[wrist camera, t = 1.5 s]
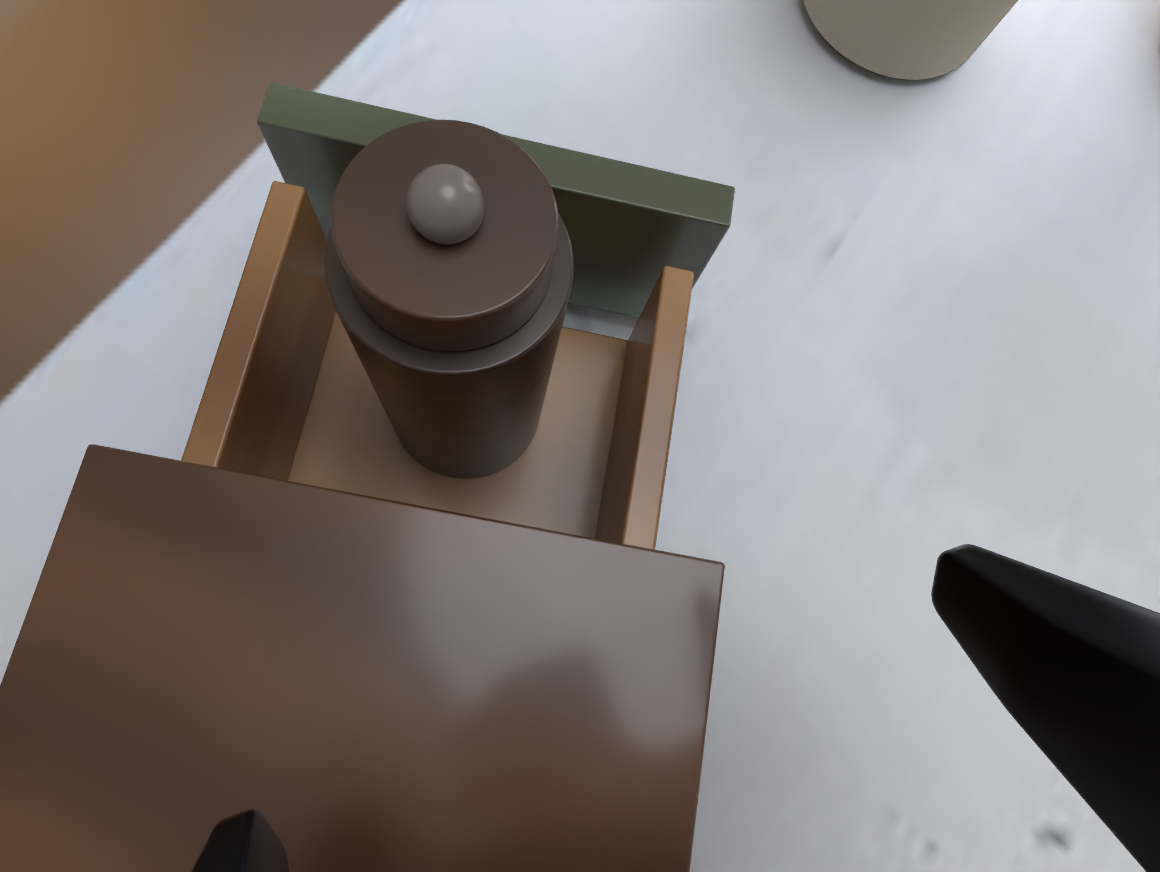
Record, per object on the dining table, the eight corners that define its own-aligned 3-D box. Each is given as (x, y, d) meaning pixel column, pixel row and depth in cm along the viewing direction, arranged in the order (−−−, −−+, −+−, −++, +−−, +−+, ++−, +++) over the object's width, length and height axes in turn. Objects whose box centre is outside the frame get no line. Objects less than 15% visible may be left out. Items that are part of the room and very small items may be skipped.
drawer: (334, 187, 24) (283, 41, 18) (680, 261, 25) (741, 146, 19) (220, 567, 21) (110, 543, 15) (624, 638, 22) (676, 644, 16)
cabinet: (228, 506, 22) (86, 442, 14) (646, 583, 23) (726, 562, 15) (83, 981, 19) (-203, 1233, 11) (580, 1048, 20) (638, 1326, 12)
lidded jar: (525, 491, 21) (563, 349, 10) (375, 462, 21) (249, 284, 10) (551, 354, 23) (612, 92, 11) (410, 325, 22) (332, 28, 11)
